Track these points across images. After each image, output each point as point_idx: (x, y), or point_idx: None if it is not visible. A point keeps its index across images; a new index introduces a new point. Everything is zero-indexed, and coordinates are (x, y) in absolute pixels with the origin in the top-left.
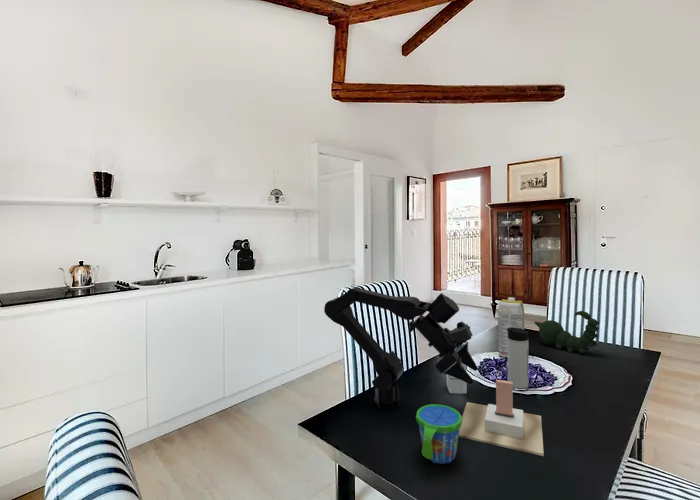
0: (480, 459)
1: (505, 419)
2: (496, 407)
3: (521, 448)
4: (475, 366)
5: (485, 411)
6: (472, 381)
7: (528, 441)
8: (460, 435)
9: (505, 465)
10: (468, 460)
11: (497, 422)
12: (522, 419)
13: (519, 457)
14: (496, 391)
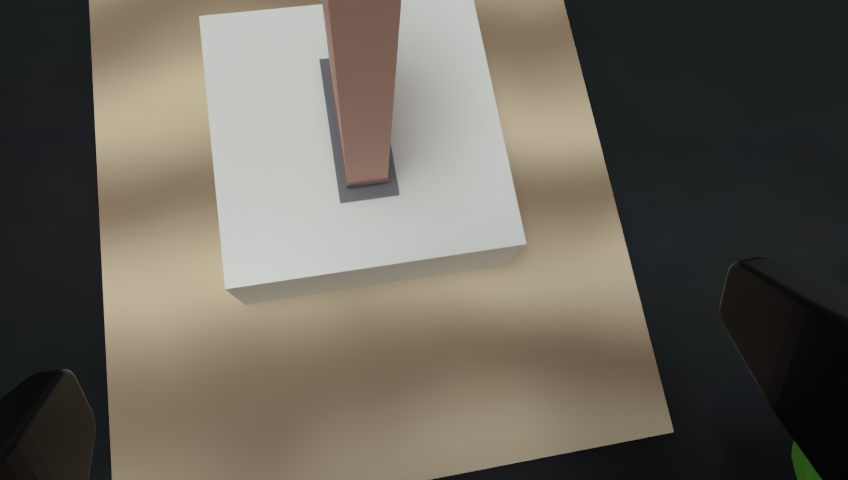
0: (789, 219)
1: (430, 106)
2: (387, 158)
3: (567, 32)
4: (48, 420)
5: (217, 335)
6: (779, 268)
7: None
8: (664, 402)
9: (745, 93)
10: (845, 277)
11: (506, 151)
12: None
13: (629, 43)
14: (395, 74)
